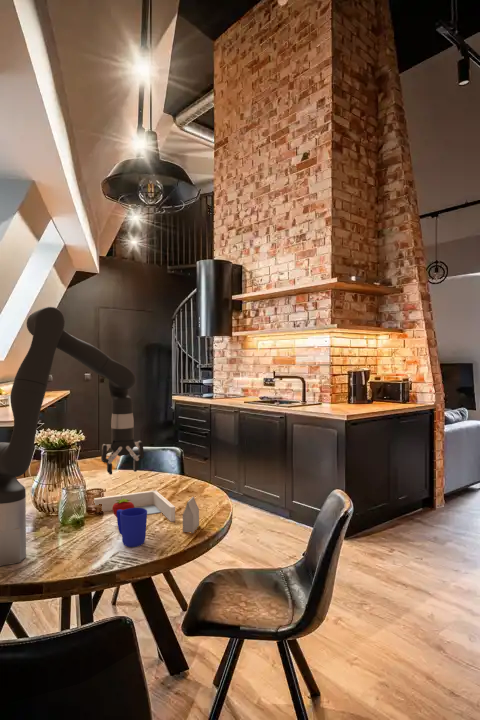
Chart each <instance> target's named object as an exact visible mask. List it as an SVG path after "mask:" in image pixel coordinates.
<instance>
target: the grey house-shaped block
mask: <svg viewBox="0 0 480 720" xmlns="http://www.w3.org/2000/svg"><path fill="white" fill-rule="evenodd" d="M198 526H200V508H199V505H198V504H197V501H196V499H195V496H192V497H191V498H190V499H189V500H188V501H187V502H186V506H185V509H184V511H183V513H182V533H183V532H191V533H190V534H195V532H196V531H197V529H198V528H199V527H198ZM197 527H198V528H197ZM195 530H196V531H195ZM194 531H195V532H194Z"/></svg>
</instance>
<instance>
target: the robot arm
mask: <svg viewBox="0 0 480 720" xmlns="http://www.w3.org/2000/svg"><path fill="white" fill-rule="evenodd" d="M26 328H27V330H28V332H29V334H30V335H32V340H31V343H30V347H29V349H28V351H27V353H26V355H25V357H24V358H23V360H22V362H21V363H20V366H19V367H18V369H17V371H16V373H15V377H14V380H13V383H12V388H11V390H10V396H9V397H10V399H9V400H10V406H11V411H12V416H13V429H12V433H11V438H10V441H9V442H5V441H4V442H1V441H0V567H3V566H7V565H12V564H18V563H21V562H22V561H23V560H24V559H26V556H27V520H26V519H27V515H26V513H27V509H26V507H27V502H26V500H27V498H26V497H27V496H26V495H27V494H26V493H27V491H26V487H25V486H24V485H23V484H21V482H20V481H19V480H18V477H21V476H23V475H24V474H25V473H26V472H27V470H28V469H29V467H30V465H31V463H32V460H33V459H32V458H33V454H34V448H35V441H36V433H37V428H38V424H39V419H40V414H41V410H42V407H43V402H44V399H45V396H46V391H47V389H48V388H47V387H48V384H49V379H50V374H51V372H52V370H51V369H52V366H53V361H54V357H55V353H56V351H57V349H59V350H60V351H61V352H64V353H65V354H67V355H68V356H70V357H72V358H73V359H75V360H77V361H78V362H80V363H81V364H82V365H84V366H85V367H86V368H88V369H89V370H90V371H92V372H93V373H95V374H96V375H99V377H100V376H101V377H104V378H106V379H108V388H109V394H110V398H111V421H110V426H111V442H110V444H105V443H103V444H101V456H100V457H101V458H100V459H101V462H102V463H103V464H106V472H107V473H108V475H113V464H112V462H114V460H115V459H116V458H117V457H122V456H129V455H130V456H131V458H133V463H132V464H133V466H132V467H133V469H132V470H133V472H135V473H137V472H138V470H139V469H140V467H139V461H140V460H141V459H144V458H145V454H144V443H143V441H141V440H138V441H135V437H134V434H135V433H134V432H135V429H134V424H135V422H134V420H135V419H134V410H133V409H134V408H133V406H134V403H133V398H132V397H131V396H130V395H129V389H132V388H133V387H134V386H135V384H136V380H137V379H136V375H135V374H134V372H133V371H132V370H131V369H130V368H129V367H127V366H125V365H123V364H121V363H120V362H118V361H116V360H114V359H113V358H111V357H110V356H109V355H108V354H106V353H104V352H103V351H102V350H101V349H99V348H98V347H96V346H94V345H93V344H91V343H89V342H86V341H84V340H82V339H79V338H77V337H76V336H73V335H71V333H69V332H68V331H66V330H64V329H65V317H64V315H63V312H61V310H60V309H59V308H57V307H55V306H45V307H43V308H40V309H38V310H36V311H34V312H33V313H31V314H29V316H28V317H27V319H26ZM135 446H136V447H135ZM134 448H137V451H138V454H136V453H135V452H134V450H133V449H134ZM109 449H111V450H112V451H111V453H110V454H109V456H108V458H107V452H108V451H109Z"/></svg>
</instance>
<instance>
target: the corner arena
mask: <svg viewBox="0 0 480 720" xmlns="http://www.w3.org/2000/svg"><path fill="white" fill-rule="evenodd" d="M101 497H102V498H101ZM101 497H96V498H95V497H94V498H93V504H94V503H95V505H99V504H102V511H103V512H110V511H113V509H112V508H113V505H114V504H115V503H117V502H119V501H116V500H122V499H123V498H124V499H128V500H130V501H128V502H132V503H133V504H134V508H144V509H146V510H147V516H149V515H155V514H160V513H161V512H162V513H163V514H162V513H161V514H162V515H163V516H164V515H165V516H164V517H166V519H167V520H169V522H171V523H172V522H176V506H175V505H174V504H172V503H171V501H169V500H168V499H167V498H166V497H164V496H163V495H162V494H161V493H159V492H158V490H157V489H151V490H146V491H139V492H138V491H137V492H131V493H125V494H116V495H111V496H110V495H109V496H108V495H107V496H101ZM103 512H102V513H103Z"/></svg>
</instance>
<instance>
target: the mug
mask: <svg viewBox="0 0 480 720" xmlns="http://www.w3.org/2000/svg"><path fill="white" fill-rule="evenodd" d="M147 519H148V515H147V510H146V509H144V508H129V509H125V510H121V509H120V510H117V517H116V520H117V521H116V523H117V529H118V532H119V534H120V535H121V540H122V543H123V545H124V547H128V548H135V547H140V546H143V544H144V543H145V541H146V537H147V536H146V534H147V521H148V520H147Z"/></svg>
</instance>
